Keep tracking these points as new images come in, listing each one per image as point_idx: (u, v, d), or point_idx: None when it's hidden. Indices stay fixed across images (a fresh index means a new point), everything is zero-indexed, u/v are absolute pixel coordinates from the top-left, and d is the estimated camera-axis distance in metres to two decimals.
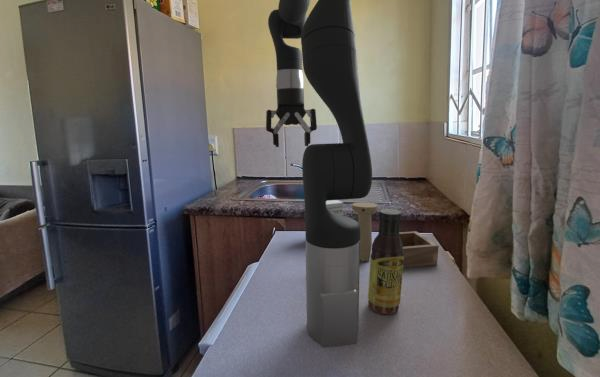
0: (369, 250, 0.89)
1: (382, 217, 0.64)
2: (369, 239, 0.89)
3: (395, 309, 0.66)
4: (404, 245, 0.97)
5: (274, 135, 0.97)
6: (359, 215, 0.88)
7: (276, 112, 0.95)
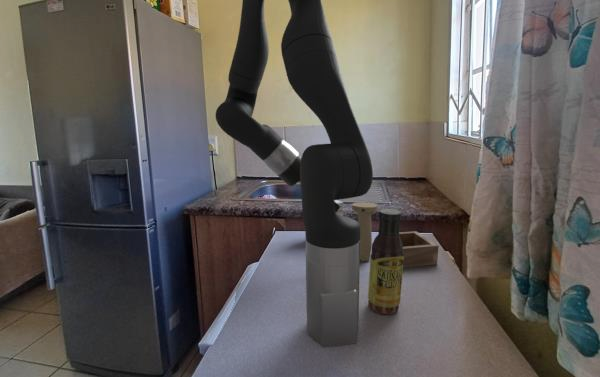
0: (369, 250, 0.89)
1: (382, 217, 0.64)
2: (369, 239, 0.89)
3: (395, 309, 0.66)
4: (404, 245, 0.97)
5: None
6: (359, 215, 0.88)
7: None
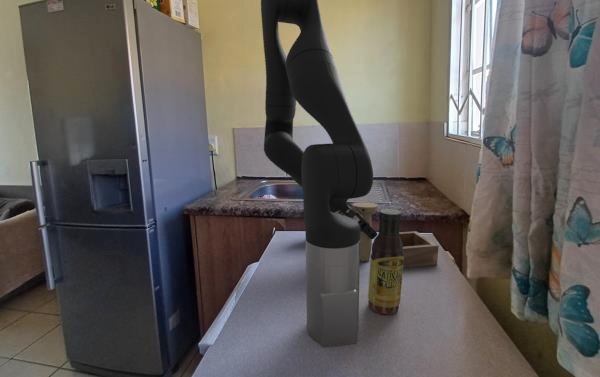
0: (369, 250, 0.89)
1: (382, 217, 0.64)
2: (369, 239, 0.89)
3: (395, 309, 0.66)
4: (404, 245, 0.97)
5: (369, 227, 0.87)
6: None
7: (352, 211, 0.84)
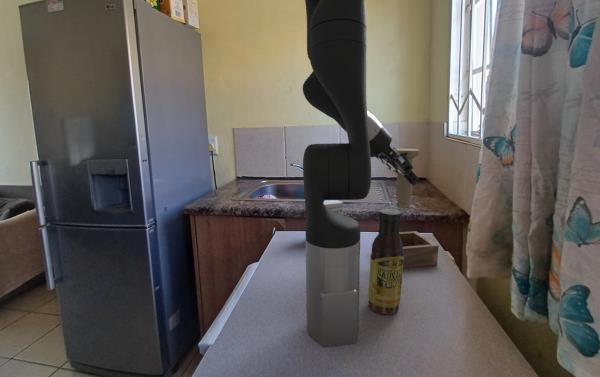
0: (410, 197, 0.88)
1: (382, 217, 0.64)
2: (410, 185, 0.87)
3: (395, 309, 0.66)
4: (404, 245, 0.97)
5: None
6: None
7: (396, 153, 0.82)
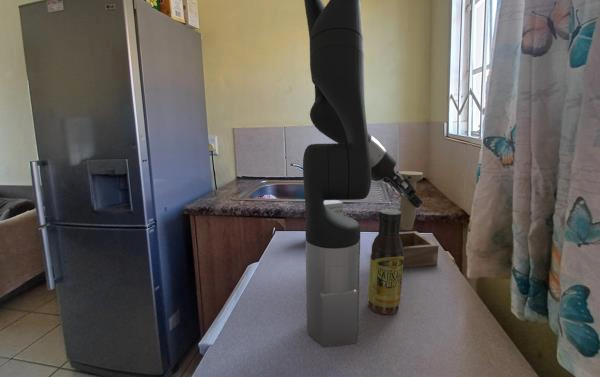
0: (413, 219, 0.89)
1: (382, 217, 0.64)
2: (414, 207, 0.88)
3: (395, 309, 0.66)
4: (404, 245, 0.97)
5: (414, 195, 0.86)
6: None
7: (399, 178, 0.83)
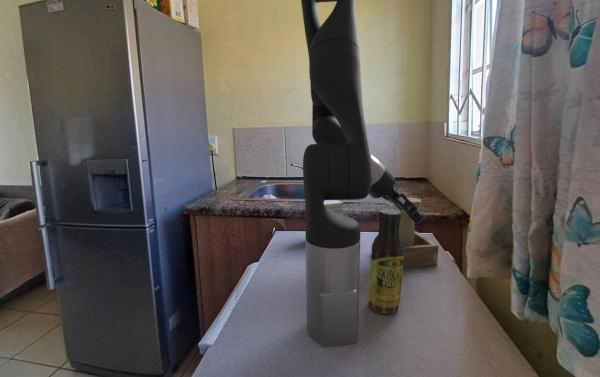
0: (412, 245, 0.90)
1: (382, 217, 0.64)
2: (412, 234, 0.89)
3: (395, 309, 0.66)
4: None
5: (416, 212, 0.85)
6: None
7: (398, 194, 0.84)
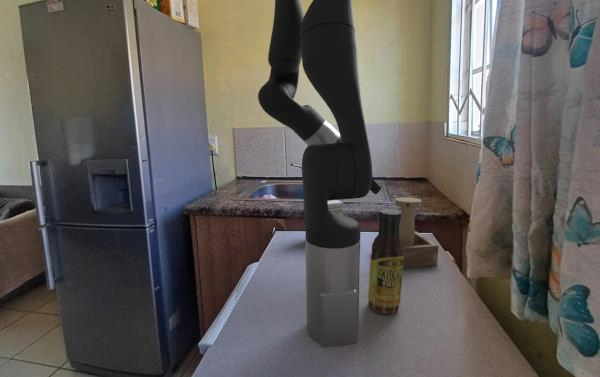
0: (412, 245, 0.90)
1: (382, 217, 0.64)
2: (412, 234, 0.89)
3: (395, 309, 0.66)
4: None
5: (372, 180, 0.81)
6: (403, 210, 0.88)
7: None
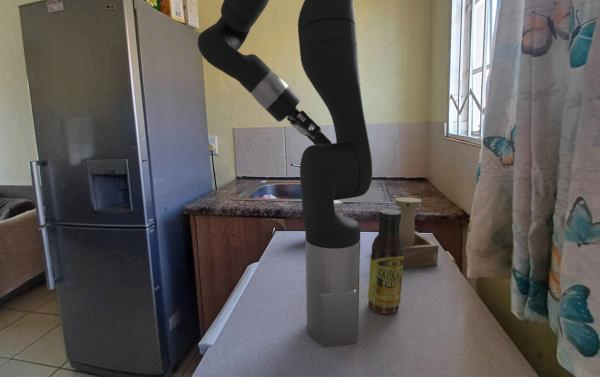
0: (412, 245, 0.90)
1: (382, 217, 0.64)
2: (412, 234, 0.89)
3: (395, 309, 0.66)
4: None
5: (321, 134, 0.78)
6: (403, 210, 0.88)
7: None
